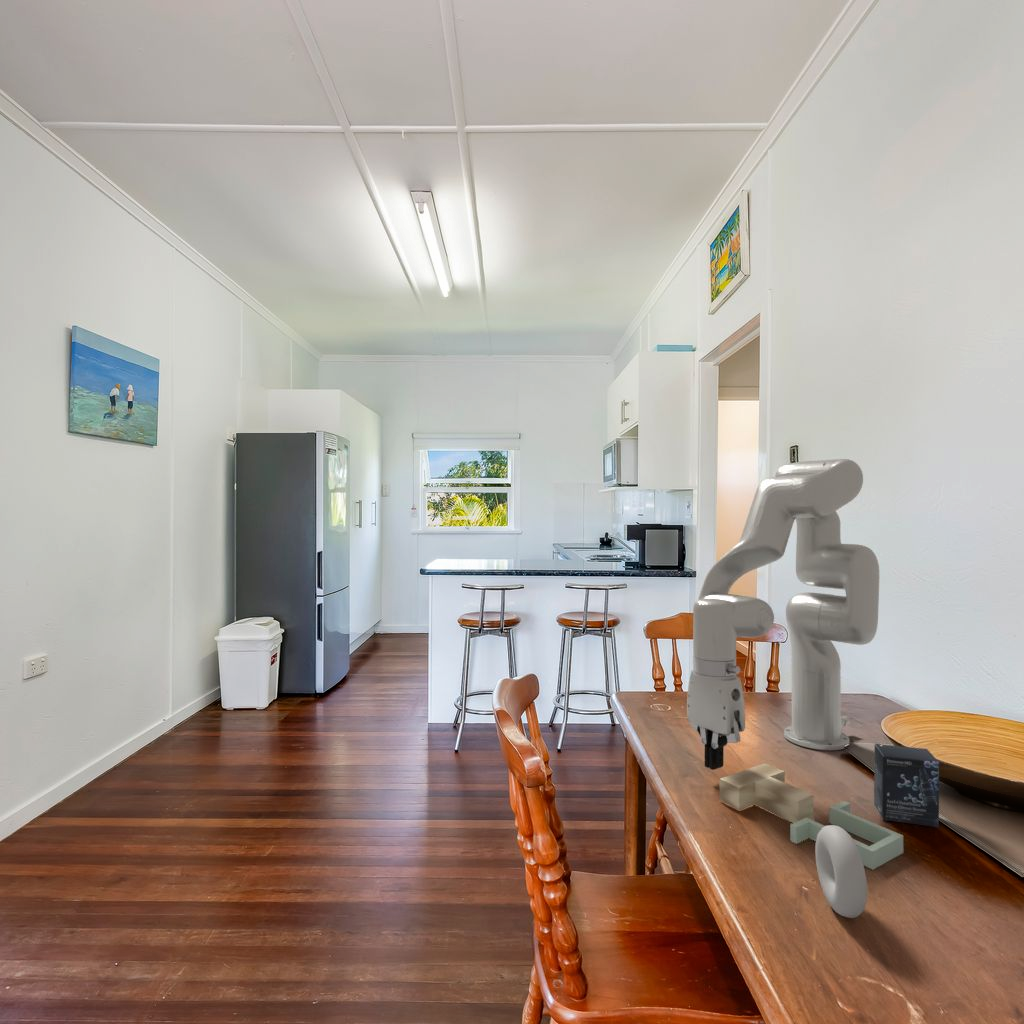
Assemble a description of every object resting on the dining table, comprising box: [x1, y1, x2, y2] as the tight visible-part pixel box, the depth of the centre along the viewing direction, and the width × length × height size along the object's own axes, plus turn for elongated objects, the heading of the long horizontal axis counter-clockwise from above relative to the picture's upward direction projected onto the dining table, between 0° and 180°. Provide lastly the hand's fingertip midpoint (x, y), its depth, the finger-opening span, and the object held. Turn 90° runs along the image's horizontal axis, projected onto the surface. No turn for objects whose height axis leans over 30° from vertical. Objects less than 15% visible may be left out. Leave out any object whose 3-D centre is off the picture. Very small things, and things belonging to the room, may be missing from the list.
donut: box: [814, 824, 868, 919], centre depth 76 cm, size 10×4×10 cm, turn 172°
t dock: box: [789, 800, 904, 870], centre depth 91 cm, size 14×10×2 cm
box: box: [873, 743, 940, 828], centre depth 99 cm, size 8×6×11 cm
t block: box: [719, 763, 815, 824], centre depth 102 cm, size 12×12×4 cm
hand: (713, 766), depth 112 cm, fingers closed
